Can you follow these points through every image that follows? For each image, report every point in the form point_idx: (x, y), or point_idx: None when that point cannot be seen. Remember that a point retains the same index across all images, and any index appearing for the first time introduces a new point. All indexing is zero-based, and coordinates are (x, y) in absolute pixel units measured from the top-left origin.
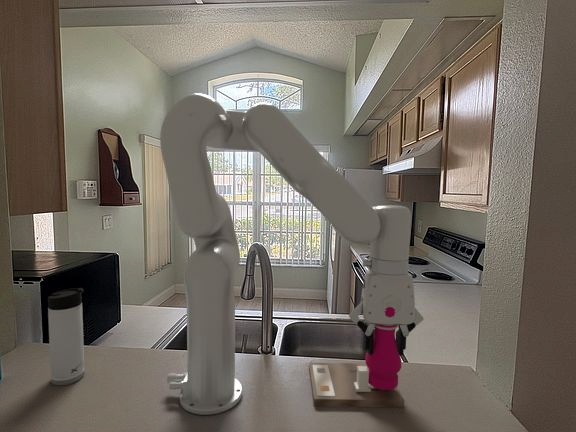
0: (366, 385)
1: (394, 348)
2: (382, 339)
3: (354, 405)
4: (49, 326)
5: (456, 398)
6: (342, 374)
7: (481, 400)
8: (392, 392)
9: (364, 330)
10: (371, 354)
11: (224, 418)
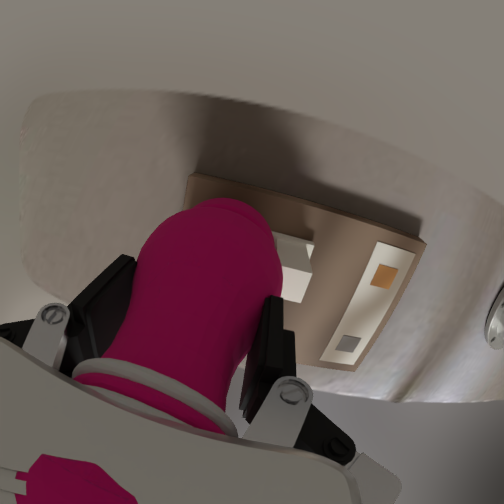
0: (283, 243)
1: (150, 278)
2: (206, 332)
3: (331, 207)
4: None
5: (67, 185)
6: (304, 321)
7: (36, 173)
8: None
9: (309, 412)
10: (273, 295)
11: None
